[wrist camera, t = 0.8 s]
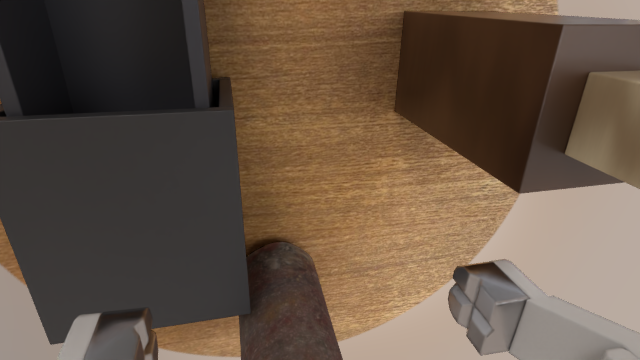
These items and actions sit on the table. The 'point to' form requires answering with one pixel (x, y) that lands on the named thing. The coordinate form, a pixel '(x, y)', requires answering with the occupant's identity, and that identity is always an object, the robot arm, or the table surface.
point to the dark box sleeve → (127, 212)
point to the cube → (609, 125)
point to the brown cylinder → (286, 308)
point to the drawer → (103, 56)
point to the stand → (509, 87)
